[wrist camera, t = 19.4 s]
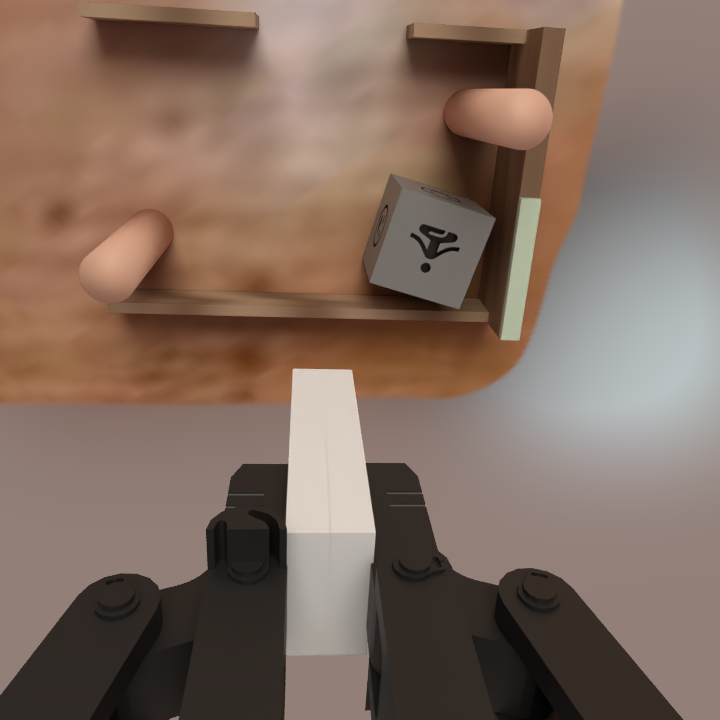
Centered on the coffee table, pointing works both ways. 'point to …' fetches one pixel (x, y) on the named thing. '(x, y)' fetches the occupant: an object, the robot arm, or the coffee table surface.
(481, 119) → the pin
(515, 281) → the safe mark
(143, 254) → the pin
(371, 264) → the dice cube
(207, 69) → the coffee table surface
